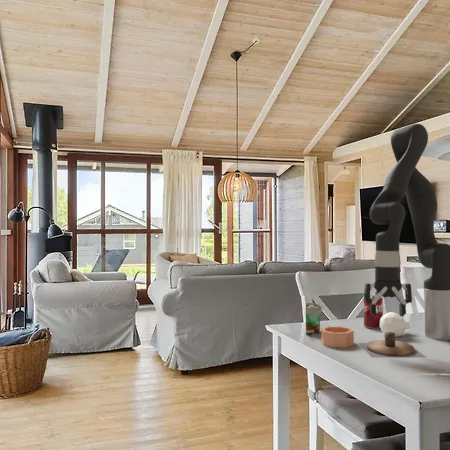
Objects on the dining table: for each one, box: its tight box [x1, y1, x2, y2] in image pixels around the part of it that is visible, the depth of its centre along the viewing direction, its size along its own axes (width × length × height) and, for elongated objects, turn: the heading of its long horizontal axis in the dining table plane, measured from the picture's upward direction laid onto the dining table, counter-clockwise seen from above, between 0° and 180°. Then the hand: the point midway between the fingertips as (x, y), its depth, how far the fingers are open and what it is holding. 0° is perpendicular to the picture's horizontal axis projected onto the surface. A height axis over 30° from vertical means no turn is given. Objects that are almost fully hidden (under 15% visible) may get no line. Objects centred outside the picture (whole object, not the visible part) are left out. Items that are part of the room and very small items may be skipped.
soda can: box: [362, 294, 384, 330], centre depth 171 cm, size 7×7×12 cm
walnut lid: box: [366, 332, 415, 356], centre depth 138 cm, size 14×14×5 cm
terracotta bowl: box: [320, 325, 355, 348], centre depth 147 cm, size 10×10×5 cm
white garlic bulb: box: [380, 311, 411, 338], centre depth 156 cm, size 9×9×12 cm
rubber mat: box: [358, 342, 427, 358], centre depth 138 cm, size 16×16×1 cm
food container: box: [305, 302, 323, 336], centre depth 165 cm, size 12×6×10 cm, turn 168°
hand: (387, 315), depth 138 cm, fingers open, 8 cm apart
